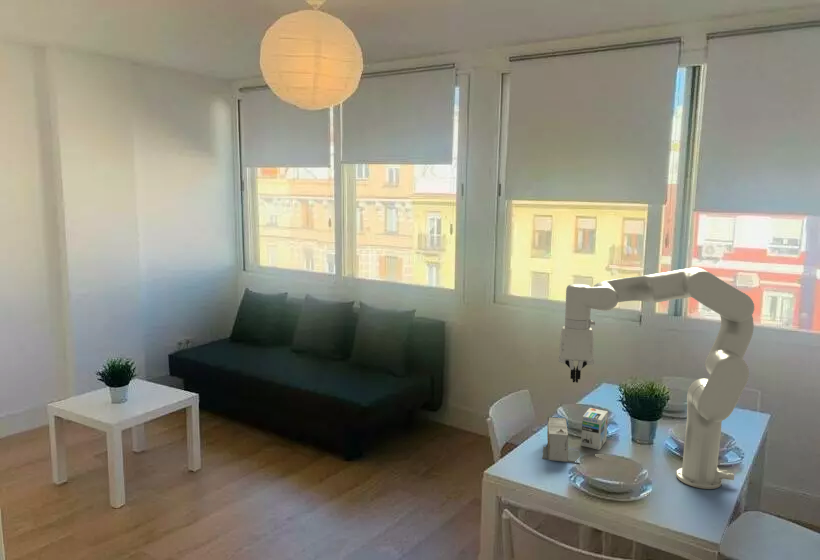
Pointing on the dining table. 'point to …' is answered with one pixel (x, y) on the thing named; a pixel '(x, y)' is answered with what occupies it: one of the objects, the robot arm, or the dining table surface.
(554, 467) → the dining table surface
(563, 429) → the coffee box
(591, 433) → the light bulb box
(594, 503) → the dining table surface
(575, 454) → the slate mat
